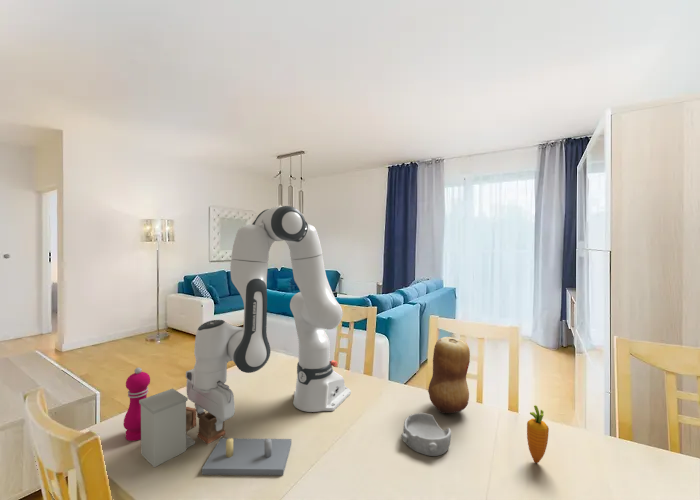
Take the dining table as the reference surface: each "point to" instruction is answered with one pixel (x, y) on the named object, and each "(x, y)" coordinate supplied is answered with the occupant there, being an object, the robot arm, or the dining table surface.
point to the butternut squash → (450, 375)
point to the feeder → (163, 427)
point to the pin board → (248, 457)
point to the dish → (425, 435)
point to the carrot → (537, 435)
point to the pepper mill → (135, 403)
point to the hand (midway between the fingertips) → (209, 423)
